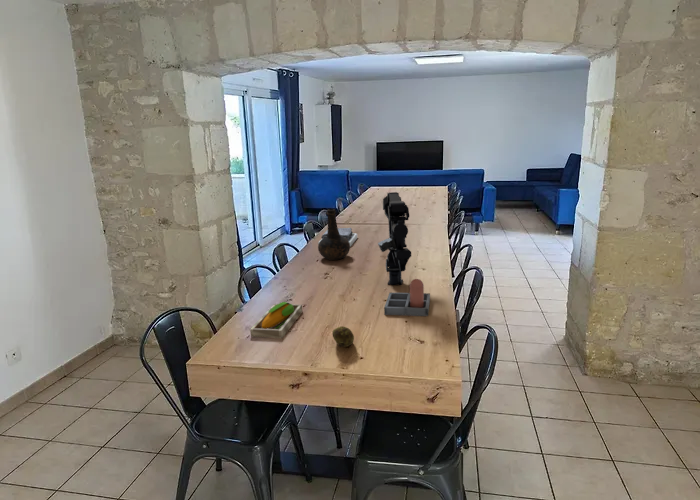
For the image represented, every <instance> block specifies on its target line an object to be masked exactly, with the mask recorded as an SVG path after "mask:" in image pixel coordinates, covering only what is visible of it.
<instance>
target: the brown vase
mask: <svg viewBox="0 0 700 500" xmlns="http://www.w3.org/2000/svg"><path fill="white" fill-rule="evenodd" d="M336 212H337V211H336V209H334V208H328V209H327V210H326V213H325V214H326V215H327V230H328V233H327V236H326V237H325V238H323V239H322V238H321V239H322V240H321V239H320V240H321V241H320V240H319V241H320V242H319V241H318V242H319V245H318V246H317V249H318V252H319V255H321V257H323V258H324V259H325V260H329V261H335V260H336V261H337V260H341V259H344V258H345V257H346V256H347V255H348V254H349V253H350V250H351V249H350V248H351V247H350V243H349V241H348V240H347V239H346V238H344V237H342V236H341V235H340V234H339V231H338V224H337V218H336Z"/></svg>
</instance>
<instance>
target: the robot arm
mask: <svg viewBox="0 0 700 500" xmlns="http://www.w3.org/2000/svg"><path fill="white" fill-rule="evenodd" d="M386 194H387V195H386V196H385V197H384V198H382V210H383V211H384V215H385V217H386V218H387V220H388V236H389V237H388V238H386V239H384V240H381V241H378V242H377V245H378V247H379V250H380V251H381V252H382V253H384V252H386V251H387V250H388V251H389V252H388V253H387V255H386V258H387V259H386V260H385V270H386V273H388V282H387V285H389V286H391V285H392V286H393V285H394V286H395V285H396V286H401V285H403V282H404V279H402V272H405V271H406V270H407V269H406V266H407V264H408V261H409V259H410V258H411V257H412V251H411V250H410V249H409V248H408V247H407V246H408V245H407V244H406V239H407V235H408V233H409V229H408V226H407V225H406V221H409V218H410V212H409V211H410V210H409V207H408V205H407V204H406V202H405V201H402V197H401V196H400V194H399V192H397V191H395V192H388V193H386Z"/></svg>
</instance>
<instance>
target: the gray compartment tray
mask: <svg viewBox="0 0 700 500" xmlns="http://www.w3.org/2000/svg"><path fill="white" fill-rule="evenodd" d="M385 301H386V302H385V304H384V307H383V309H384V315H387V316H412V317H428V316H429V312H430V311H429V310H430V302H431V293H429V292H428V293H427V292H426V293H425V292H424V308H412V307H410V292H389V294H388V297H387V299H386V300H385Z"/></svg>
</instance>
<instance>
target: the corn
mask: <svg viewBox="0 0 700 500" xmlns="http://www.w3.org/2000/svg"><path fill="white" fill-rule="evenodd" d="M276 304H277V305H276V306H274V307H273V308H271V307H270V308H271V309H270V308H269V309H270V311H269V312H270V313H269V314H268V315H267V316H266V317H265V319H264V320H263V322H262V328H261V329H272V328H274V329H280V328H281V327H282V326H283V324H284V323H285V322H286V321H287V320H288V318H289V317H290V316H291V315H292V313H293V312H294V307H293V305H292V303H290V302H286V301H282V302H279V303H276Z"/></svg>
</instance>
